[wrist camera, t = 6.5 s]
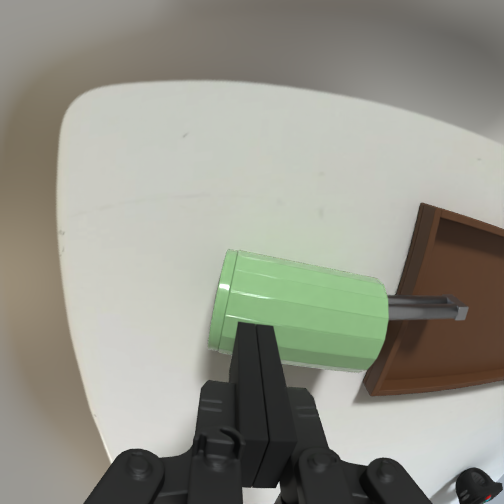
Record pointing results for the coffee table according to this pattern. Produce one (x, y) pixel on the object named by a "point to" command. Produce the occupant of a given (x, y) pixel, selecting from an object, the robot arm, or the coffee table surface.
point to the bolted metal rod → (426, 307)
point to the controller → (476, 487)
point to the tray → (446, 330)
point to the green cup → (301, 311)
